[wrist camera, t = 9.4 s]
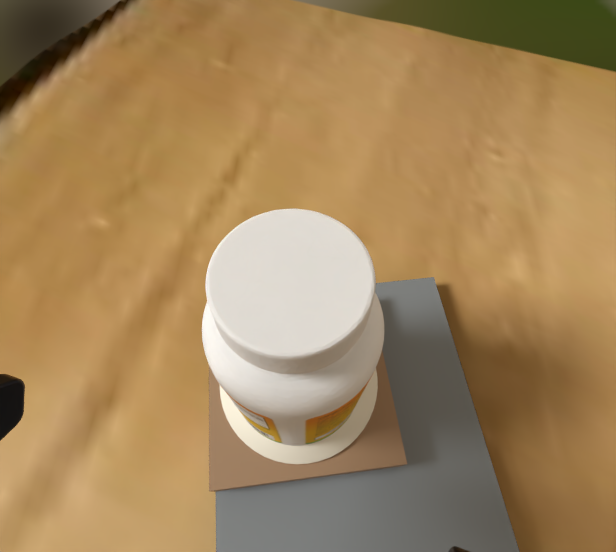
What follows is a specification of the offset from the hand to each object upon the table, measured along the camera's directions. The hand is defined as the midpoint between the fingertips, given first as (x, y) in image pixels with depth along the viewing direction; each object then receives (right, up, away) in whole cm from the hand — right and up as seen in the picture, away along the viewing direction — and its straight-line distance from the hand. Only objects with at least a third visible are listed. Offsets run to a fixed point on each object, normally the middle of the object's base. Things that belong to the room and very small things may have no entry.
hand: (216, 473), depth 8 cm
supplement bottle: (+1, -1, +10) cm, 10 cm away
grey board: (+4, -4, +11) cm, 12 cm away
